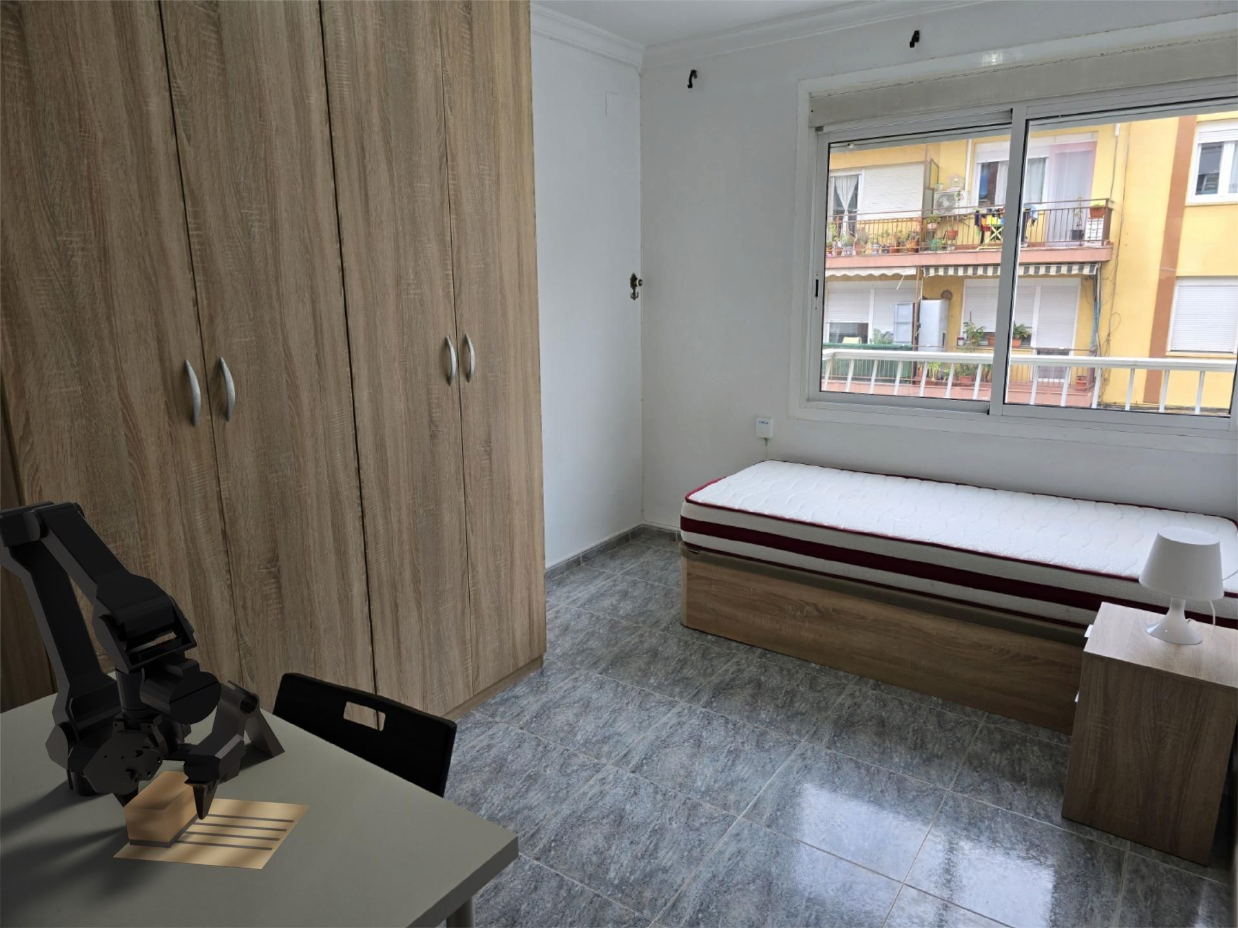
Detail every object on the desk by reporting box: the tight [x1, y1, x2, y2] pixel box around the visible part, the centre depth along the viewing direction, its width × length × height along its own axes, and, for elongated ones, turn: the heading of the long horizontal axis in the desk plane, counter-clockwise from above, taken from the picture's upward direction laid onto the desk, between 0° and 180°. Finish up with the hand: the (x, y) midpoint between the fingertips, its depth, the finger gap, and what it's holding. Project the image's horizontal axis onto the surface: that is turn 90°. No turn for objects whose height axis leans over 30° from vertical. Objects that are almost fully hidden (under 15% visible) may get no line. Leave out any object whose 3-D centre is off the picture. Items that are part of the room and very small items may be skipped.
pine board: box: [113, 798, 311, 870], centre depth 93 cm, size 18×11×1 cm, turn 83°
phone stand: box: [210, 679, 286, 782], centre depth 106 cm, size 9×6×12 cm, turn 143°
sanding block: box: [122, 770, 199, 848], centre depth 93 cm, size 5×7×5 cm
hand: (168, 814), depth 93 cm, fingers open, 9 cm apart
